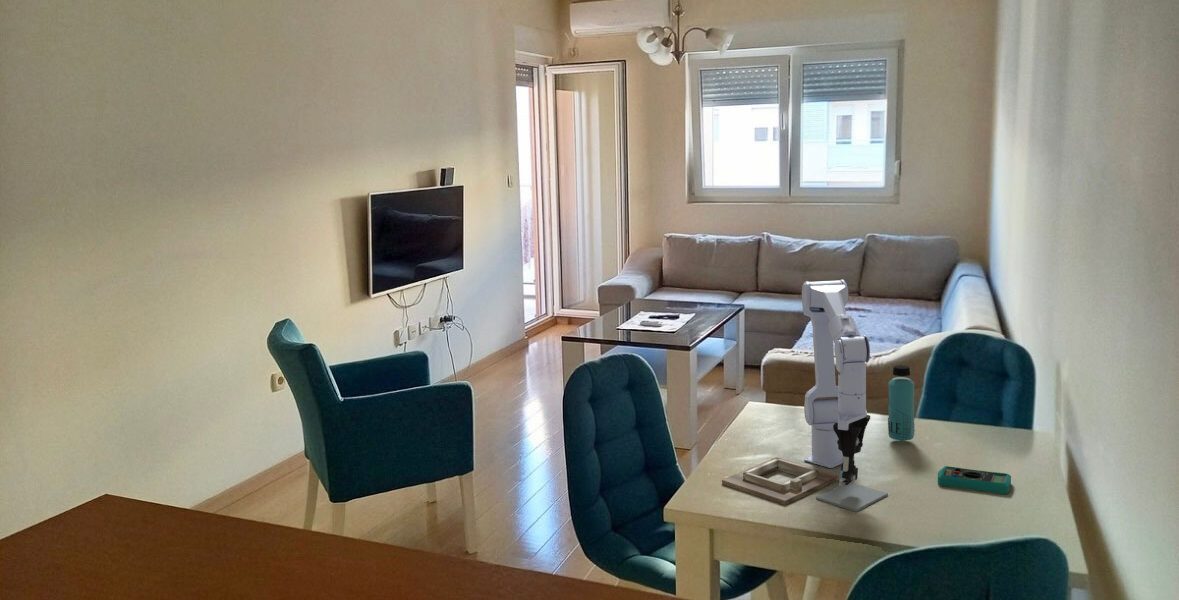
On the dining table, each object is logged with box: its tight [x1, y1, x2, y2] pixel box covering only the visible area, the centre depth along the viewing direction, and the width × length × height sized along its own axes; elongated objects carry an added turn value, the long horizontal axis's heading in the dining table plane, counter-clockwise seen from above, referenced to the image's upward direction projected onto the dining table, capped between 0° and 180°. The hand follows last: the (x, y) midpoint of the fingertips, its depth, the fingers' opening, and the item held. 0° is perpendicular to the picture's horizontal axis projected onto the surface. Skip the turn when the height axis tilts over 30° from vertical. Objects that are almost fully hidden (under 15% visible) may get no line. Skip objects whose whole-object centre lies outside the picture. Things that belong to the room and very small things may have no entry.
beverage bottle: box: [887, 364, 916, 442], centre depth 230 cm, size 6×7×20 cm
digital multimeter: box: [937, 465, 1012, 495], centre depth 203 cm, size 7×15×3 cm, turn 60°
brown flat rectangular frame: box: [721, 456, 840, 506], centre depth 210 cm, size 20×18×3 cm
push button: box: [837, 437, 864, 486], centre depth 198 cm, size 7×5×10 cm
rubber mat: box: [816, 482, 889, 513], centre depth 199 cm, size 12×10×1 cm
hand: (852, 452), depth 197 cm, fingers closed on push button, 5 cm apart
